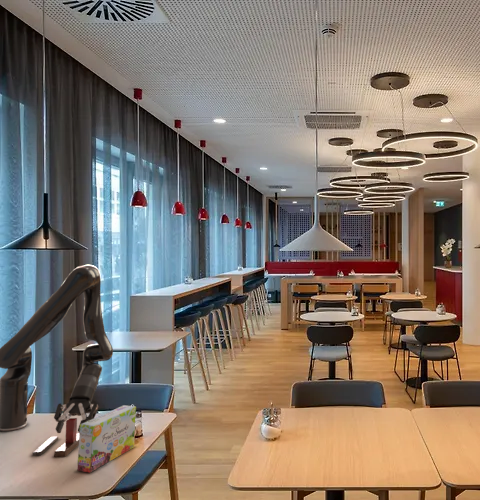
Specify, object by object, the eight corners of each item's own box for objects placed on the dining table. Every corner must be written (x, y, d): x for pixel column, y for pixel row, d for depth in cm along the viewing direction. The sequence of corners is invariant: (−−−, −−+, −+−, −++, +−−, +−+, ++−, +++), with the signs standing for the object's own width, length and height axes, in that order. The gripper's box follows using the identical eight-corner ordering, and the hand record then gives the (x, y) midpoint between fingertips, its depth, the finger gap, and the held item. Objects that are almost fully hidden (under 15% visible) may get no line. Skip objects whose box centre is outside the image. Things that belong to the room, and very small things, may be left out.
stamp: (54, 457, 158) (55, 427, 158) (75, 438, 174) (76, 412, 174) (65, 456, 159) (66, 427, 159) (85, 438, 175) (86, 411, 175)
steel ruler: (32, 455, 159) (32, 452, 159) (50, 440, 172) (50, 436, 173) (40, 455, 159) (40, 451, 159) (58, 439, 173) (58, 436, 173)
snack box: (91, 473, 147) (93, 425, 147) (76, 471, 148) (78, 424, 148) (135, 447, 168) (136, 405, 168) (121, 445, 169) (123, 404, 169)
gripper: (61, 384, 173) (43, 427, 161) (101, 384, 175) (87, 426, 163) (67, 394, 179) (51, 437, 167) (107, 394, 180) (93, 436, 168)
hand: (69, 431), depth 165 cm, fingers open, 6 cm apart
